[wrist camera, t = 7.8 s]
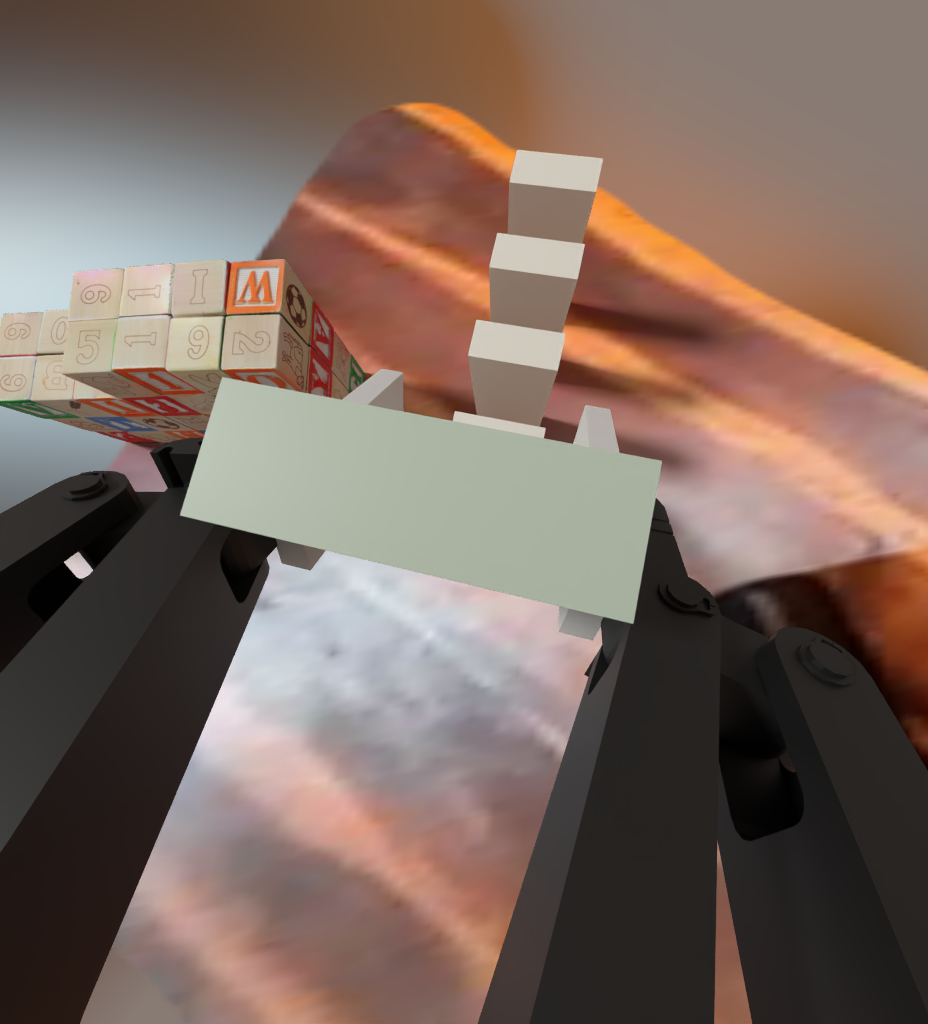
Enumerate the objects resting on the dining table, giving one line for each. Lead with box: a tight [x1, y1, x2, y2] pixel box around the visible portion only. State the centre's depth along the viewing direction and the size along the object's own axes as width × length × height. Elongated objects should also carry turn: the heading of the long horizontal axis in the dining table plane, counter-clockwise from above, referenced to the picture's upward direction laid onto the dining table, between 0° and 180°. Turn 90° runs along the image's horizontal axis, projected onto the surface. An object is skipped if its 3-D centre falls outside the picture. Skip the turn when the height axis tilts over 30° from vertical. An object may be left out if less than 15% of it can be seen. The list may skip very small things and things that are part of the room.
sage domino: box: [180, 377, 662, 624], centre depth 10 cm, size 2×6×11 cm, turn 77°
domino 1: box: [508, 150, 603, 244], centre depth 25 cm, size 2×5×11 cm, turn 77°
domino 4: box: [453, 411, 546, 438], centre depth 24 cm, size 2×5×11 cm, turn 77°
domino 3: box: [468, 320, 566, 427], centre depth 24 cm, size 2×5×11 cm, turn 77°
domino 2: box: [489, 233, 585, 333], centre depth 25 cm, size 2×5×11 cm, turn 77°
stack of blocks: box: [0, 259, 364, 443], centre depth 26 cm, size 21×6×12 cm, turn 89°
